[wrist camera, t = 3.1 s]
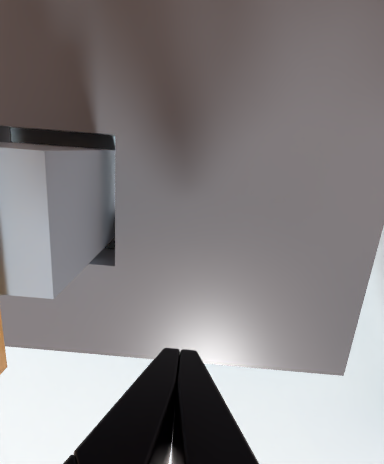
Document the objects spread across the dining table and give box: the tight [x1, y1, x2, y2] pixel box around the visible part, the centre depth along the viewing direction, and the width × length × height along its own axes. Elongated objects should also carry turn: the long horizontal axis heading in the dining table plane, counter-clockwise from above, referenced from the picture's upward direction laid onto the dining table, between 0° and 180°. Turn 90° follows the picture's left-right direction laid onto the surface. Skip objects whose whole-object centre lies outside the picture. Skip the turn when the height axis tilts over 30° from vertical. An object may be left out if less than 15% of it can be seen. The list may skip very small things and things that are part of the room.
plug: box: [0, 142, 115, 299], centre depth 10 cm, size 4×4×6 cm
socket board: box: [0, 0, 384, 376], centre depth 12 cm, size 22×18×2 cm
